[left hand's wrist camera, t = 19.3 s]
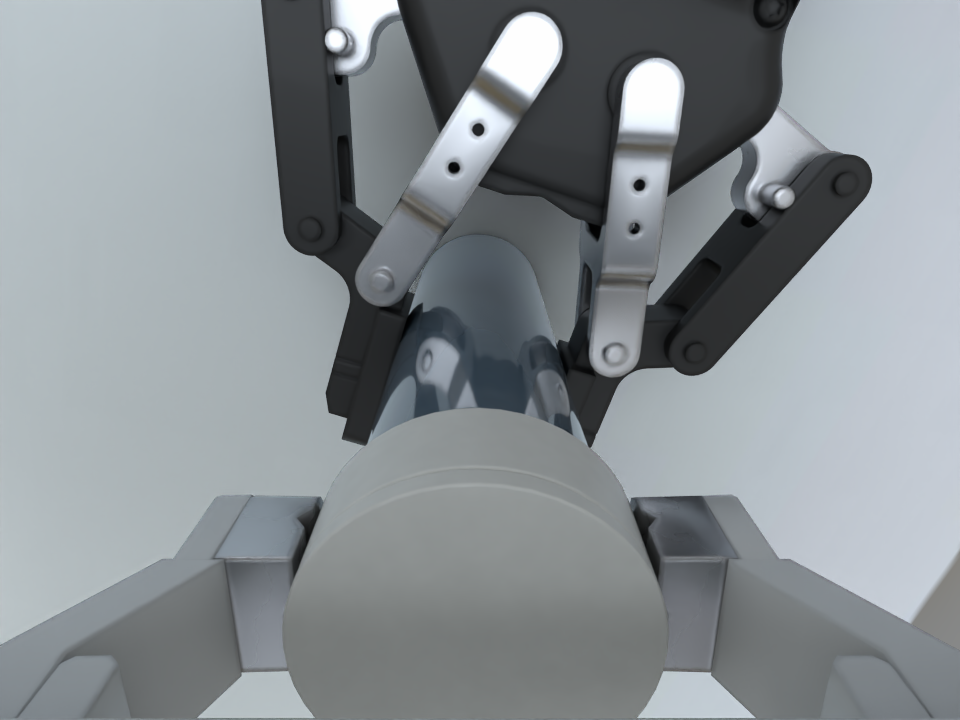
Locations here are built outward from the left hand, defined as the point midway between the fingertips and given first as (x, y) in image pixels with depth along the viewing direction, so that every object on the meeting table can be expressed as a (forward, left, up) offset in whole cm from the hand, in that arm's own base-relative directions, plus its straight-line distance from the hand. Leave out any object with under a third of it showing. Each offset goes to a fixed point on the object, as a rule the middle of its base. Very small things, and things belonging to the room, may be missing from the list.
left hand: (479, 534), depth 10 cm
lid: (0, 0, +2) cm, 2 cm away
